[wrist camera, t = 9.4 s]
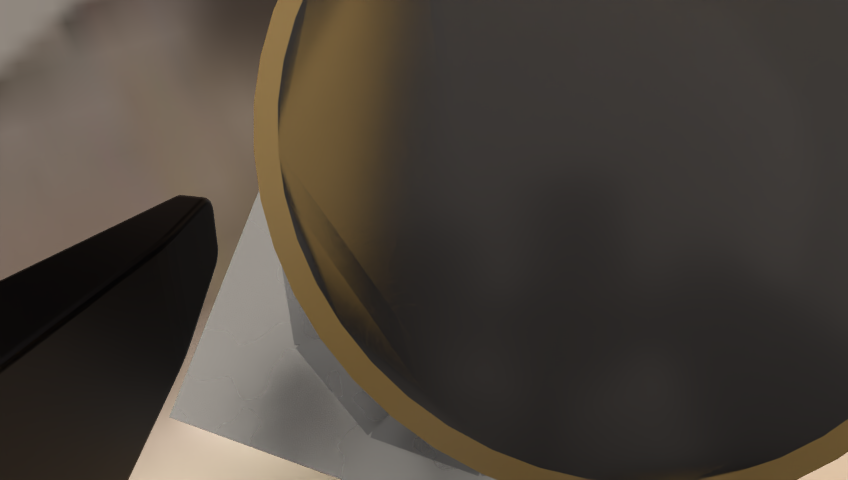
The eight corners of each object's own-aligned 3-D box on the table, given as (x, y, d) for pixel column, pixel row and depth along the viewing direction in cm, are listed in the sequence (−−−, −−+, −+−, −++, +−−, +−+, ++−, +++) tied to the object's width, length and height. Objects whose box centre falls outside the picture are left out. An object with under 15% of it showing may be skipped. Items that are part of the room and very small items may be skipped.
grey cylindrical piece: (497, 438, 17) (720, 692, 5) (312, 284, 18) (92, 164, 5) (640, 252, 18) (1138, 70, 6) (460, 110, 19) (561, -340, 6)
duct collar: (631, 577, 18) (689, 641, 14) (179, 414, 18) (117, 432, 14) (754, 135, 20) (834, 85, 16) (343, 0, 20) (325, -79, 16)
